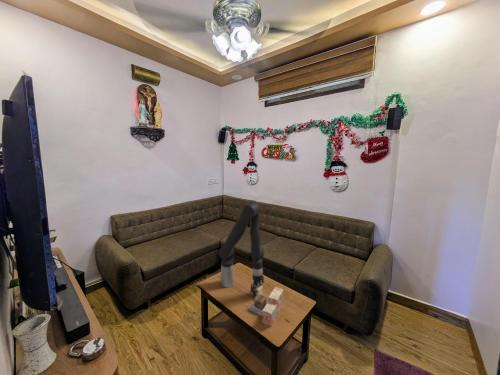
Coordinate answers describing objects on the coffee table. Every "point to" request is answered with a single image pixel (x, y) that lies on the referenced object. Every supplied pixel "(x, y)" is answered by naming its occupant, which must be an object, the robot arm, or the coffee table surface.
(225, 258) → the robot arm
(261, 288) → the maple block
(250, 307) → the build board
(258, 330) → the coffee table surface
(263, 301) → the walnut block
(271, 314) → the stack of blocks
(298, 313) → the coffee table surface
